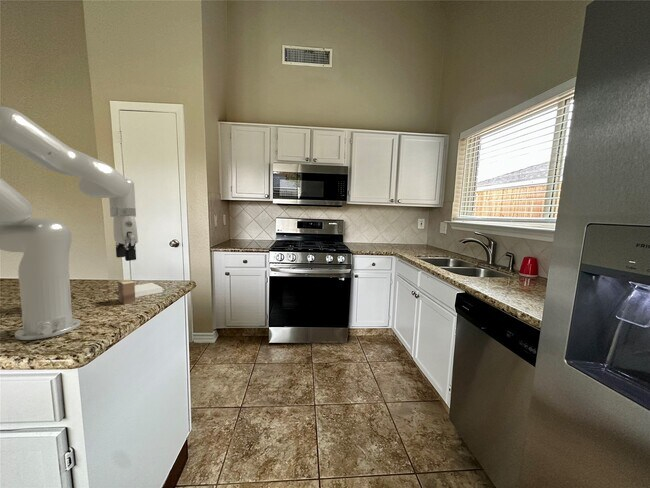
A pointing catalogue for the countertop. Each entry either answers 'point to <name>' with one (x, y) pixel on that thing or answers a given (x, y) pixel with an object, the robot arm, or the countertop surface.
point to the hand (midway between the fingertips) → (126, 258)
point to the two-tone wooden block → (126, 291)
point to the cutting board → (147, 289)
